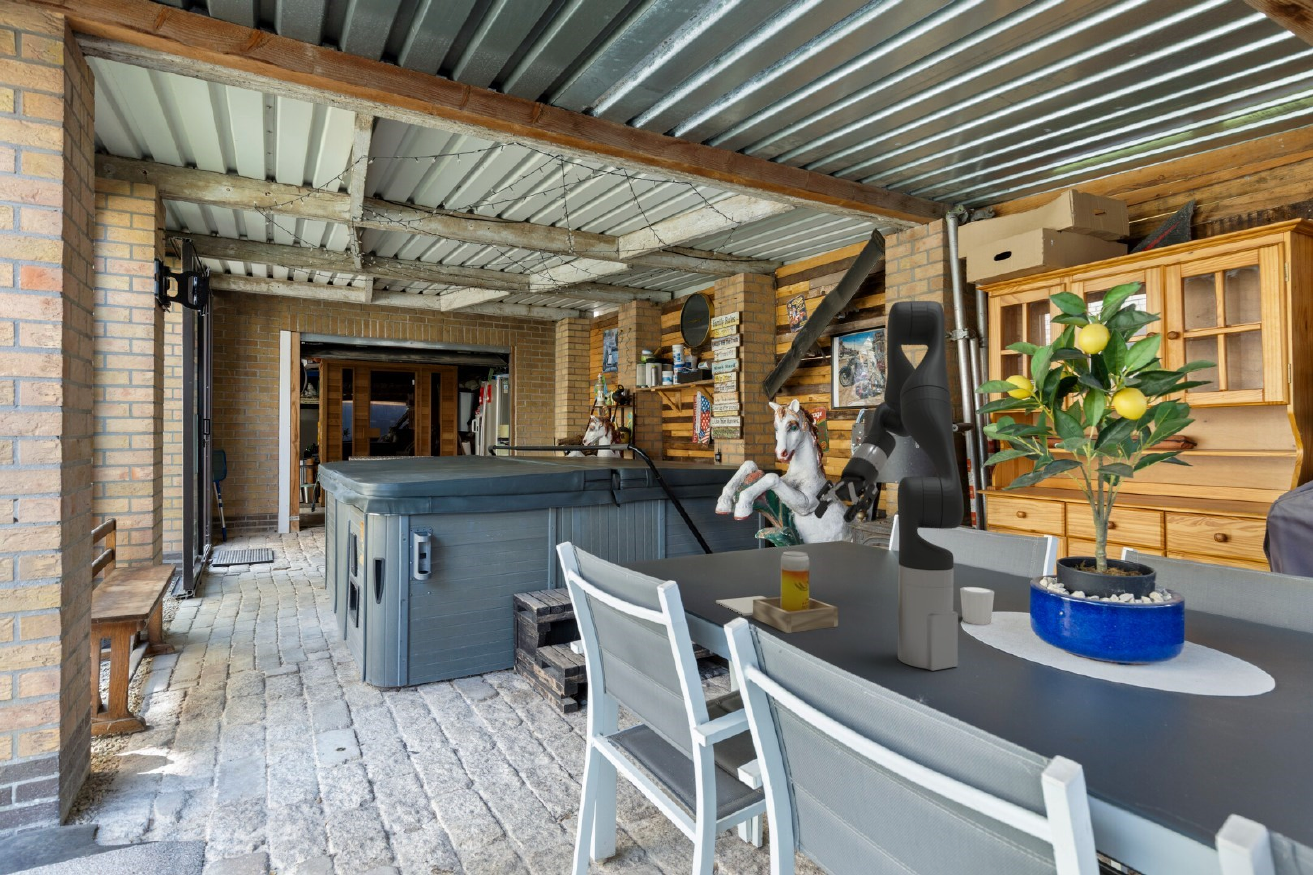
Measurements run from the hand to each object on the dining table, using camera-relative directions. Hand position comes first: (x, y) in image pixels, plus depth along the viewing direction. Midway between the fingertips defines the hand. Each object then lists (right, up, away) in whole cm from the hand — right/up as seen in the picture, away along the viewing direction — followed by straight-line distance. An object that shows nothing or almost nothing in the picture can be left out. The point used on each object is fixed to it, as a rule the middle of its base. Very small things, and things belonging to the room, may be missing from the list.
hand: (831, 518), depth 154 cm
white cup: (+31, -22, -5) cm, 39 cm away
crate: (-10, -22, -7) cm, 25 cm away
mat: (-17, -22, +7) cm, 28 cm away
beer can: (-10, -22, -7) cm, 25 cm away
